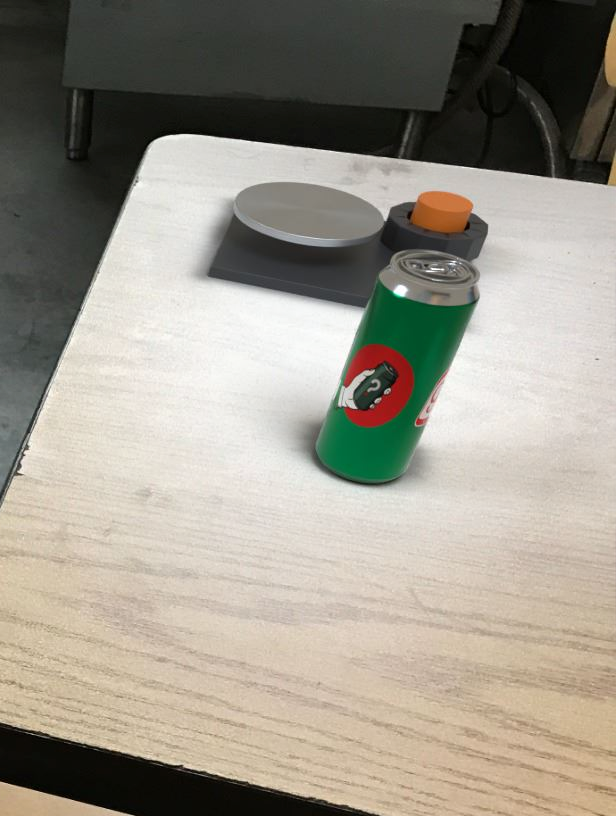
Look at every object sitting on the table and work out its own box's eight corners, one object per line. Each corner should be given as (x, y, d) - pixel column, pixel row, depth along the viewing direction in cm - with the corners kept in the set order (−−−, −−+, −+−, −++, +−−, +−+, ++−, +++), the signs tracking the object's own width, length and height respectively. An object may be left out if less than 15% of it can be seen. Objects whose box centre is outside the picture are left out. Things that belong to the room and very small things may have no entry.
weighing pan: (387, 205, 98) (390, 197, 97) (374, 259, 91) (378, 250, 90) (244, 180, 101) (247, 172, 100) (222, 230, 94) (224, 221, 93)
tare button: (465, 220, 97) (474, 196, 96) (462, 239, 94) (472, 215, 93) (411, 211, 98) (420, 187, 97) (407, 229, 95) (416, 205, 94)
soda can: (412, 493, 76) (499, 292, 68) (319, 483, 76) (394, 282, 68) (395, 446, 80) (475, 250, 72) (306, 436, 80) (375, 241, 72)
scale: (470, 258, 99) (489, 212, 97) (461, 341, 90) (482, 292, 87) (236, 215, 104) (249, 169, 102) (204, 289, 95) (217, 240, 92)
